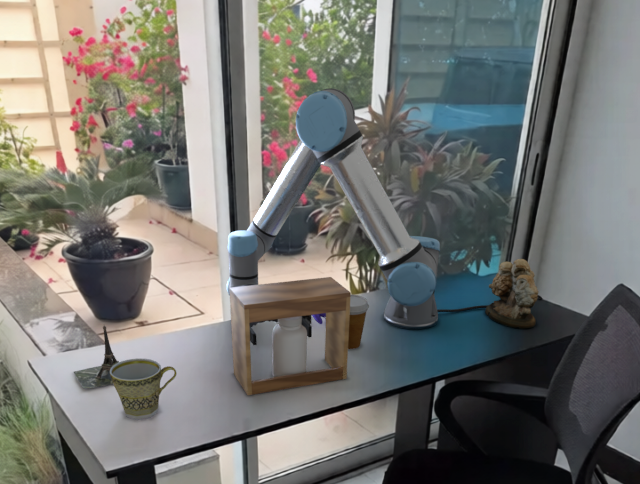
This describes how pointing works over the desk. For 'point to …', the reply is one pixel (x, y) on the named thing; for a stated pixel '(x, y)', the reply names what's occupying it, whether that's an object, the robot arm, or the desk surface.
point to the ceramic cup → (139, 386)
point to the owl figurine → (513, 295)
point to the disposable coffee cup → (356, 320)
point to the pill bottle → (289, 347)
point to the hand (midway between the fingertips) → (283, 336)
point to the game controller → (319, 317)
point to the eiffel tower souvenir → (98, 369)
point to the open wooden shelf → (285, 304)
